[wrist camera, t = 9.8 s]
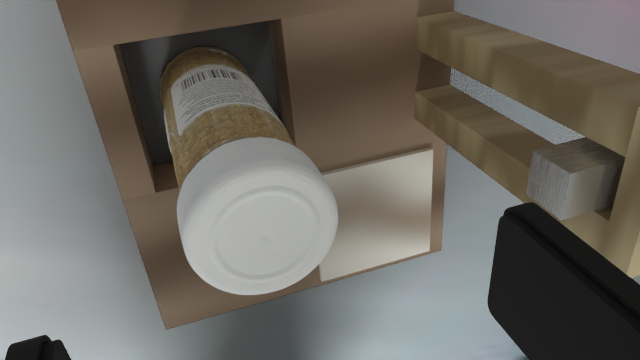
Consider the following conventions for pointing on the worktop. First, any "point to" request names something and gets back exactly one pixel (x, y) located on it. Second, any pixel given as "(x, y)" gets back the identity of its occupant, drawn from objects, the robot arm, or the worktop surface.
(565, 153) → the bolt
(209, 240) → the sprinkles bottle
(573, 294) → the robot arm
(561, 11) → the worktop surface
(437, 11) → the brown wooden frame
